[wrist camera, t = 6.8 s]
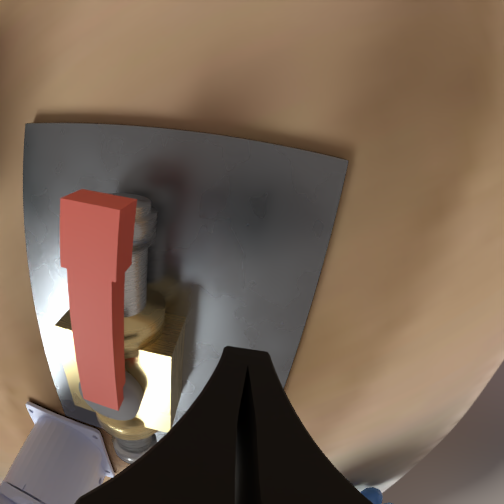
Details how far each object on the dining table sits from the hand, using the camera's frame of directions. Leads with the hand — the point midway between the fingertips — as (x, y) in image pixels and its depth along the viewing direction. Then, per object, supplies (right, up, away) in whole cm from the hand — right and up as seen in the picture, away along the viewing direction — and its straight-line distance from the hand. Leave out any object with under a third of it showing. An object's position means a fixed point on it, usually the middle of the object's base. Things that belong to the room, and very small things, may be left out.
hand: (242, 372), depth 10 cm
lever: (-6, +1, +3) cm, 6 cm away
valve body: (-5, -1, +8) cm, 9 cm away
